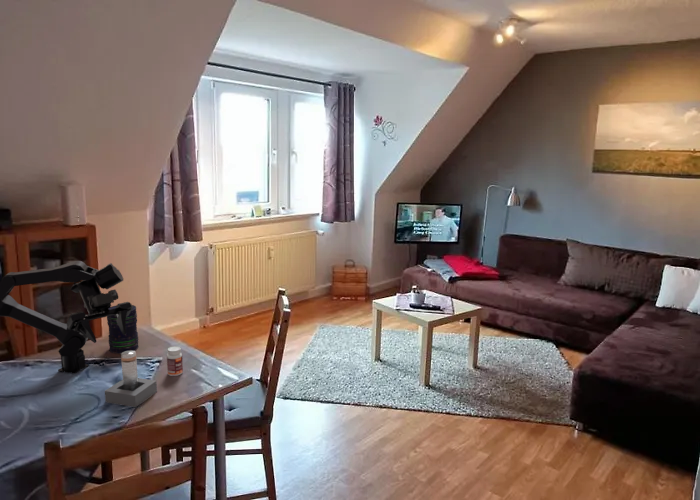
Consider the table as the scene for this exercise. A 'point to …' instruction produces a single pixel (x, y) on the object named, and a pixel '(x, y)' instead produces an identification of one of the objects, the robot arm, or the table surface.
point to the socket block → (131, 393)
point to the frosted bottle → (129, 370)
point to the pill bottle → (174, 361)
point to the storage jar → (117, 338)
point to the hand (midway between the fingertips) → (110, 338)
